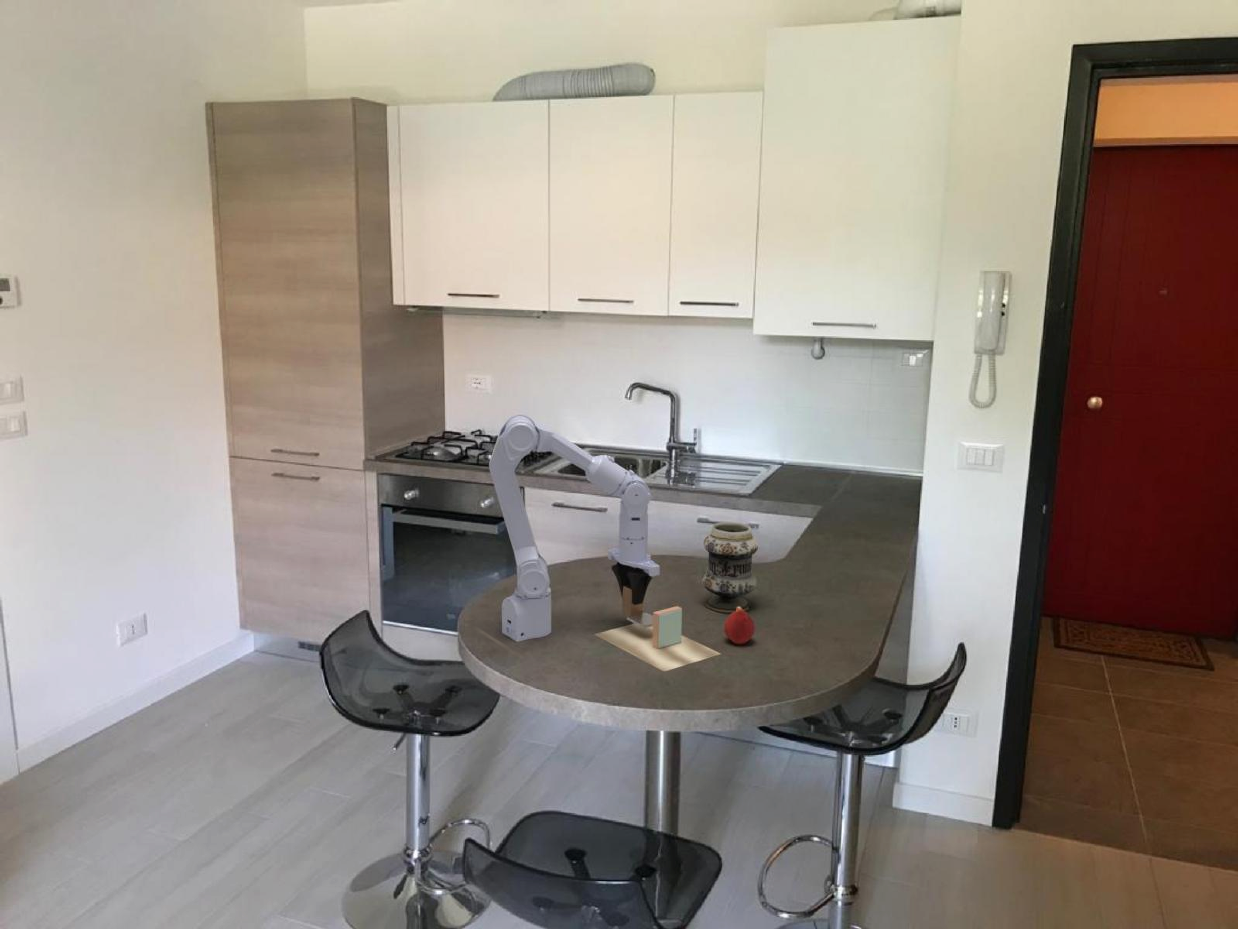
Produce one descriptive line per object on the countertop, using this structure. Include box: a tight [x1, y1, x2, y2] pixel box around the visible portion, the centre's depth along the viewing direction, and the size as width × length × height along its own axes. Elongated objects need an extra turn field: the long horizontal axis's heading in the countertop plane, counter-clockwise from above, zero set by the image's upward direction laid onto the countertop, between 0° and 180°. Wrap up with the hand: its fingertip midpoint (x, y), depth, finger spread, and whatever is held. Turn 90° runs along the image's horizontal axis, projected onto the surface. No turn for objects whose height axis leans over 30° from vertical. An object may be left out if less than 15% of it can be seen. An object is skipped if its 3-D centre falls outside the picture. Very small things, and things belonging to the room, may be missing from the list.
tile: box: [652, 605, 683, 649], centre depth 181 cm, size 6×2×7 cm, turn 126°
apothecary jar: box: [701, 521, 759, 614], centre depth 205 cm, size 12×12×18 cm
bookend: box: [621, 584, 653, 628], centre depth 188 cm, size 5×8×6 cm, turn 37°
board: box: [593, 623, 722, 673], centre depth 182 cm, size 14×22×1 cm, turn 37°
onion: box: [723, 607, 756, 645], centre depth 183 cm, size 6×6×8 cm
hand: (632, 601), depth 190 cm, fingers closed on bookend, 3 cm apart
